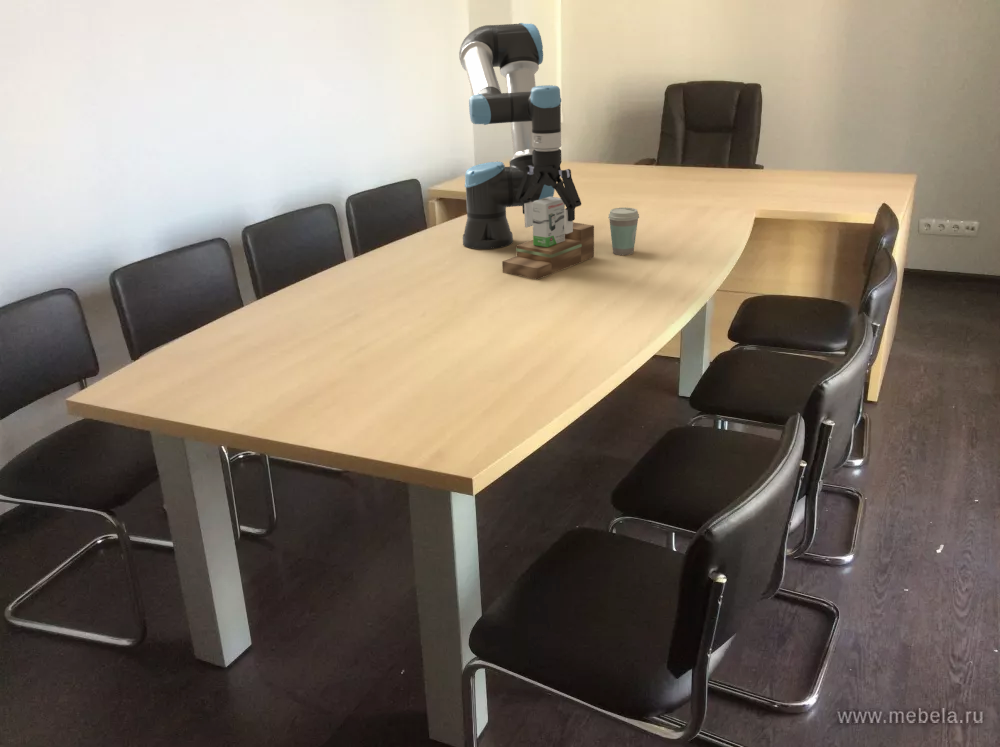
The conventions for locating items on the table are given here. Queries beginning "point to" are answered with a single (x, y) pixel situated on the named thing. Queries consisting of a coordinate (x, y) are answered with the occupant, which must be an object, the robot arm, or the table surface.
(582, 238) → the stand
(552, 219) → the ink box
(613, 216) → the coffee cup
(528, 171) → the robot arm
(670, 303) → the table surface
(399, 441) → the table surface
